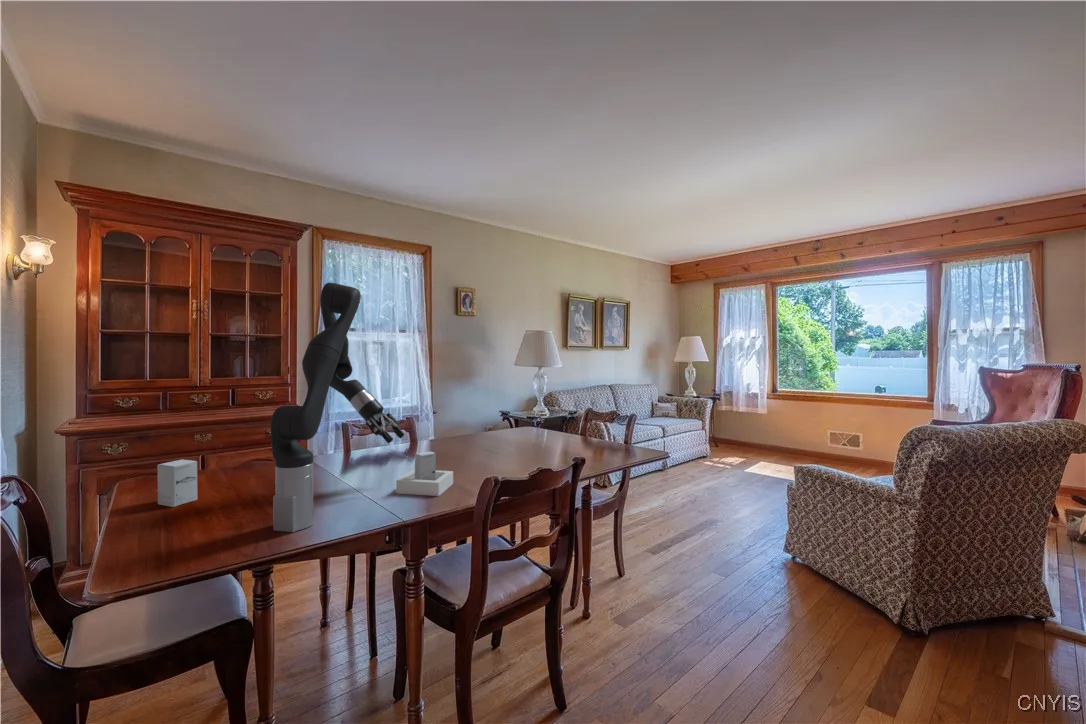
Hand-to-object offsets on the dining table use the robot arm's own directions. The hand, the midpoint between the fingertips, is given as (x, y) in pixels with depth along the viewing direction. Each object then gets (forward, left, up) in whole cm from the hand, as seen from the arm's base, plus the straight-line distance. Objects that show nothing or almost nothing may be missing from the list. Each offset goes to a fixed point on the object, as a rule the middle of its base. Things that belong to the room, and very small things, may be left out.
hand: (397, 438), depth 164 cm
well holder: (0, -11, -17) cm, 20 cm away
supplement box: (-28, +59, -17) cm, 68 cm away
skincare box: (0, -10, -17) cm, 20 cm away
